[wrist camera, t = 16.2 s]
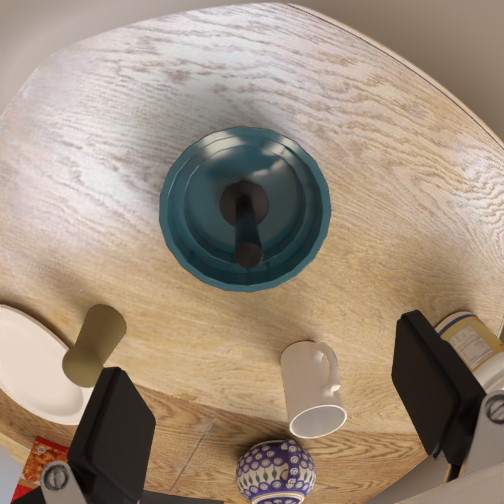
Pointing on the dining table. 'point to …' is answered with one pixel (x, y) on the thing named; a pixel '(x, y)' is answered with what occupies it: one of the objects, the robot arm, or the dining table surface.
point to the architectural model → (172, 499)
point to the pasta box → (39, 465)
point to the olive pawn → (93, 345)
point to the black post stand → (245, 219)
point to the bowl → (270, 229)
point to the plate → (37, 369)
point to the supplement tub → (476, 348)
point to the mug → (312, 389)
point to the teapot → (276, 473)
